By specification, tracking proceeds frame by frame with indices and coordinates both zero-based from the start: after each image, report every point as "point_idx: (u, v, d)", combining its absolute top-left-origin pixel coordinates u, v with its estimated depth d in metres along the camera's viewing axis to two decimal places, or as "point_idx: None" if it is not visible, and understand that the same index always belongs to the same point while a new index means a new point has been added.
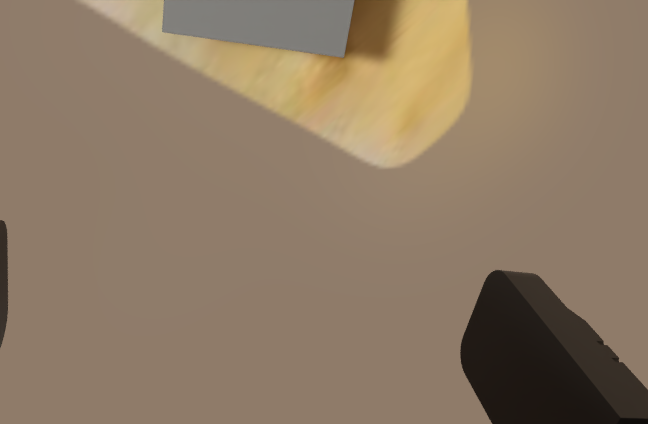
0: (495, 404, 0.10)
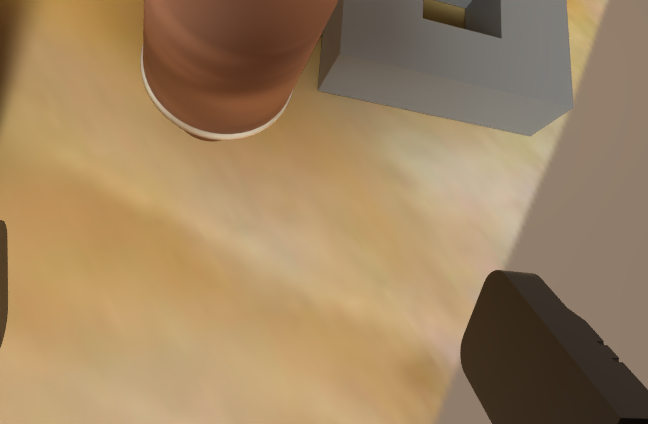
0: (495, 404, 0.10)
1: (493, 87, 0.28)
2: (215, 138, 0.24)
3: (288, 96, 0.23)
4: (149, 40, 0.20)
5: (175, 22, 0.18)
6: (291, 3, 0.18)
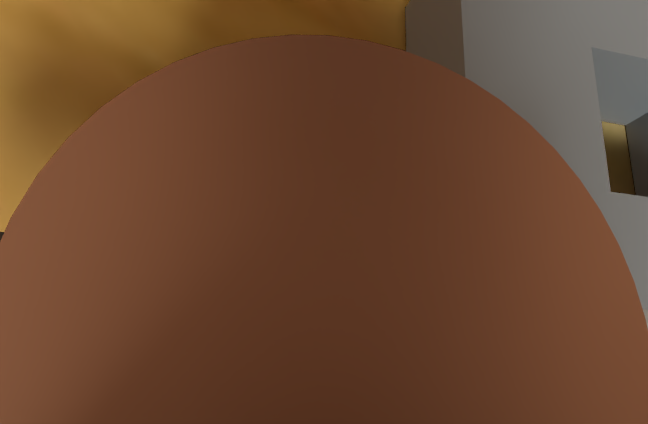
0: None
1: None
2: None
3: None
4: None
5: None
6: None
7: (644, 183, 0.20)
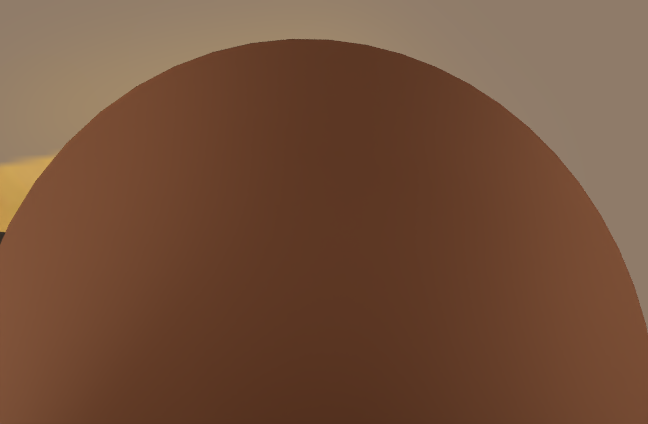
0: None
1: None
2: None
3: None
4: None
5: None
6: None
7: None
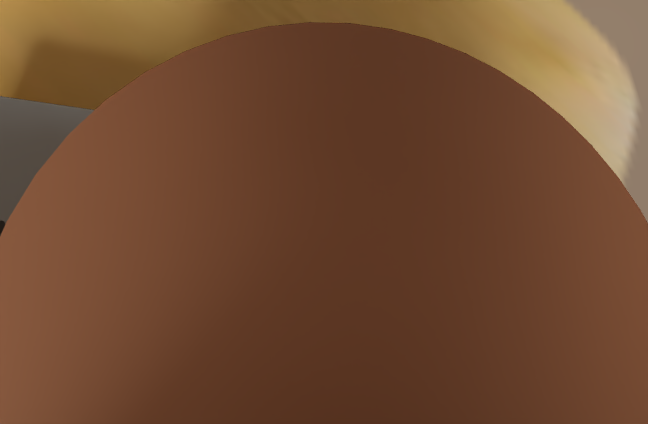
0: None
1: None
2: None
3: None
4: None
5: None
6: None
7: None
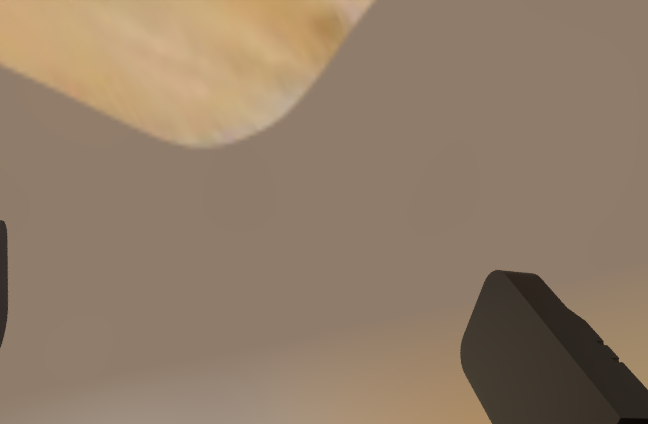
0: (495, 404, 0.10)
1: None
2: None
3: None
4: None
5: None
6: None
7: None
